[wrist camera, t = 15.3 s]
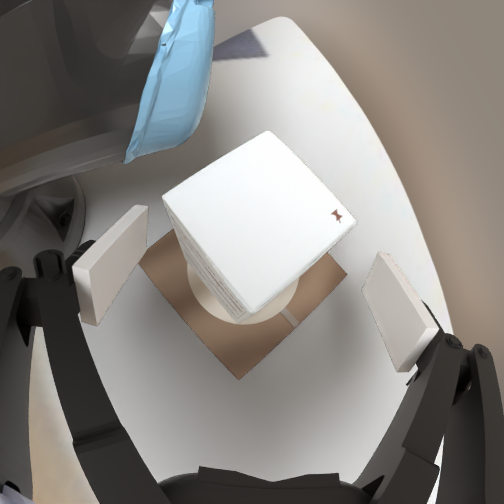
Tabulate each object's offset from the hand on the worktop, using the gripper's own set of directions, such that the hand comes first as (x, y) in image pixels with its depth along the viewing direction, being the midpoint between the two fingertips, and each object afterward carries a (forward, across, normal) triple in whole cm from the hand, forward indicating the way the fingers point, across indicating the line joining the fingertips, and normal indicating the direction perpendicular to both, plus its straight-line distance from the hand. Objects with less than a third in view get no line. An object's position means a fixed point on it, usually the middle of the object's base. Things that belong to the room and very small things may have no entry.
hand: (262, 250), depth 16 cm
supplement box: (+8, 0, -6) cm, 10 cm away
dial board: (+9, 0, -7) cm, 12 cm away
